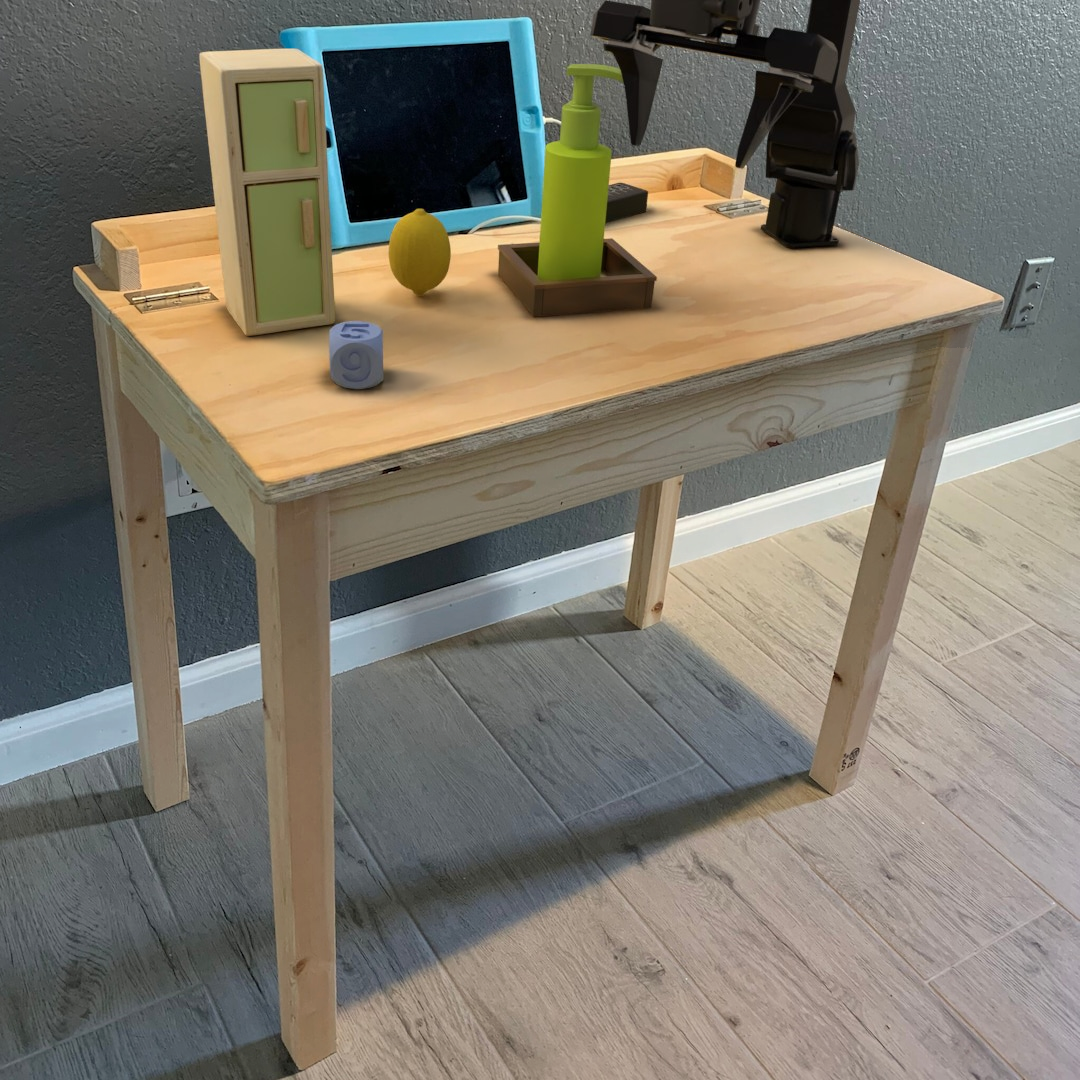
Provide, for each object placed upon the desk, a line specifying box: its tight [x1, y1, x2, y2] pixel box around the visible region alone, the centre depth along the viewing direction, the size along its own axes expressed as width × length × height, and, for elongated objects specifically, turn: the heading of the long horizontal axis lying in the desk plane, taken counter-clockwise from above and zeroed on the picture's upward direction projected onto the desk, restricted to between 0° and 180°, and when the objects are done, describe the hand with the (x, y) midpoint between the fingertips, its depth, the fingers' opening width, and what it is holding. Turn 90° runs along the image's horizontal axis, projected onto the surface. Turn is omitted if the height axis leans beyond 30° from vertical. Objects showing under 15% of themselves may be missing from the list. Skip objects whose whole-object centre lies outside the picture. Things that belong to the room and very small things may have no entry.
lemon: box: [388, 208, 452, 297], centre depth 102 cm, size 6×6×8 cm
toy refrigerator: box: [199, 48, 336, 337], centre depth 92 cm, size 8×7×21 cm
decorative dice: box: [328, 320, 385, 390], centre depth 88 cm, size 4×4×4 cm
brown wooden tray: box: [497, 237, 658, 318], centre depth 106 cm, size 12×11×3 cm
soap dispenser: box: [538, 63, 623, 281], centre depth 102 cm, size 6×7×20 cm
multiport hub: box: [605, 182, 649, 224], centre depth 127 cm, size 4×11×2 cm, turn 135°
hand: (686, 156), depth 91 cm, fingers open, 9 cm apart
